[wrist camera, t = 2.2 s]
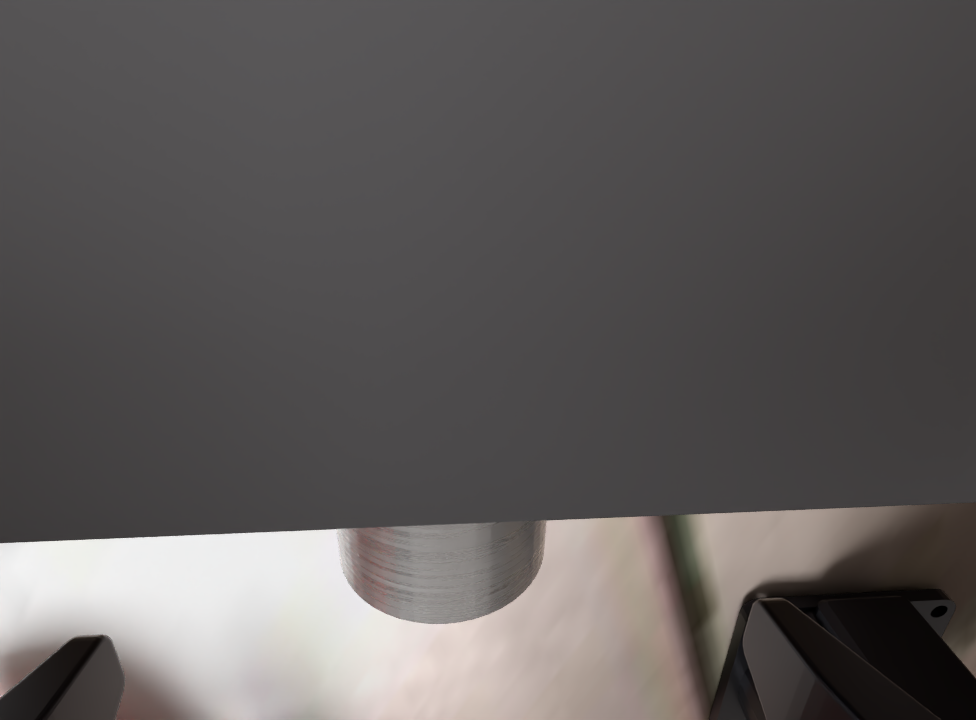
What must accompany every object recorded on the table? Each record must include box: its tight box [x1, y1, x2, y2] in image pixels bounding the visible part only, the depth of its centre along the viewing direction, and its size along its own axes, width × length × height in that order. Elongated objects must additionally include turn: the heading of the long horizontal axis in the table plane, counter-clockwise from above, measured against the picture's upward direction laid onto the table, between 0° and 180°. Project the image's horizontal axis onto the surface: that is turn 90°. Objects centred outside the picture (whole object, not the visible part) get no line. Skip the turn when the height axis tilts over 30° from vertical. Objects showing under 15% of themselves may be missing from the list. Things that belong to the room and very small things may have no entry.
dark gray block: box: [0, 0, 976, 543], centre depth 6 cm, size 3×12×7 cm, turn 89°
